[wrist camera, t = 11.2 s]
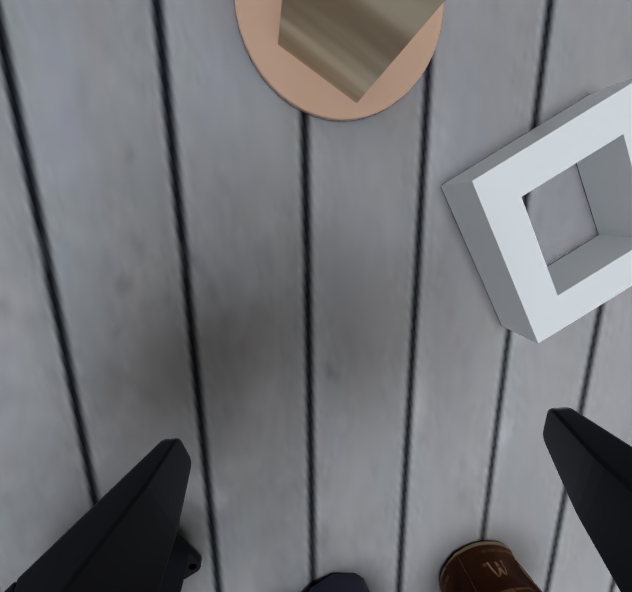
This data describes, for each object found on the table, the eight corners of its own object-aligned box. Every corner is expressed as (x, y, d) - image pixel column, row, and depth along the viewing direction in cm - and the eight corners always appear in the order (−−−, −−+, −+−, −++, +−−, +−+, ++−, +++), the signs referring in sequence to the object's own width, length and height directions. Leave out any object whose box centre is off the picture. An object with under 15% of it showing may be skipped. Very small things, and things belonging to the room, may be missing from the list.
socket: (502, 326, 22) (538, 343, 19) (440, 185, 19) (471, 181, 16) (633, 245, 22) (688, 250, 19) (590, 93, 19) (648, 72, 16)
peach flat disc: (305, 158, 18) (306, 156, 17) (189, -53, 15) (186, -64, 14) (467, 59, 18) (474, 54, 17) (382, -170, 15) (387, -185, 14)
